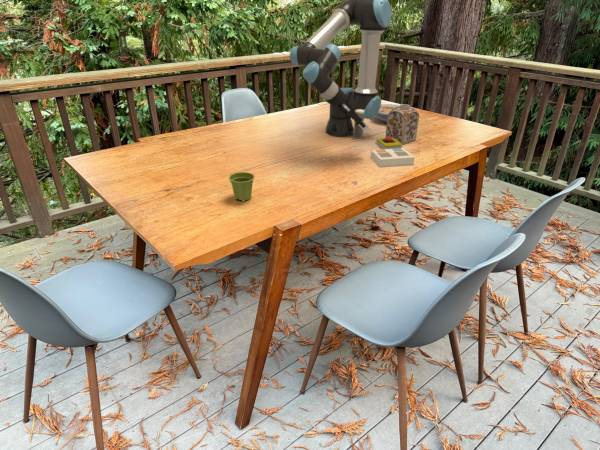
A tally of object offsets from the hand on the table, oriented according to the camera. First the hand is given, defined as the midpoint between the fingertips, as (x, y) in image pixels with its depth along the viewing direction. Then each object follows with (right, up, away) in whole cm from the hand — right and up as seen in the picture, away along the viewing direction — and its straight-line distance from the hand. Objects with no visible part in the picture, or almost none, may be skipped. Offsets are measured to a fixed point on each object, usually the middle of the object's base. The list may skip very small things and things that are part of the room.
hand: (366, 129), depth 186 cm
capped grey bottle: (-4, -3, +1) cm, 5 cm away
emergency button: (+14, -5, +20) cm, 25 cm away
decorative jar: (+22, +1, +29) cm, 37 cm away
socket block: (+12, -14, +4) cm, 19 cm away
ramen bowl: (+23, +18, +58) cm, 65 cm away
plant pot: (-52, -33, -30) cm, 68 cm away
